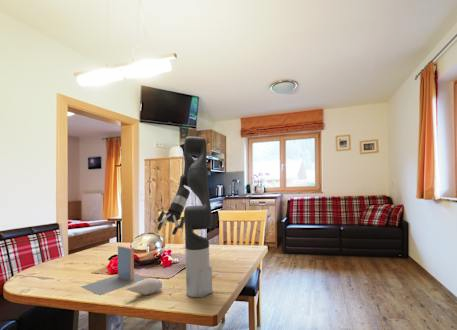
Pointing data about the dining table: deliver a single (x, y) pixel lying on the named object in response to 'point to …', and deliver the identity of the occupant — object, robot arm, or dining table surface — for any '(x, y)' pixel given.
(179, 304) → the dining table surface
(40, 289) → the dining table surface
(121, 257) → the tile
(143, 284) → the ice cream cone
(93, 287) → the mat
